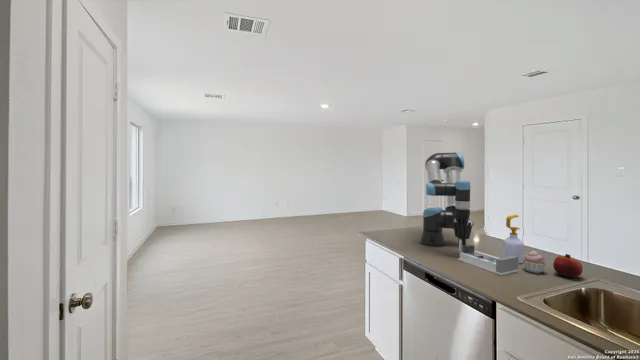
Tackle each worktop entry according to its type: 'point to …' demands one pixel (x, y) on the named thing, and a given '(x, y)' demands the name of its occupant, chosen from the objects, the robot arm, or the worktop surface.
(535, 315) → the worktop surface
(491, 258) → the block with dark end
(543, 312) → the worktop surface
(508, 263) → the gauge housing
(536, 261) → the cupcake
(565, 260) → the fruit
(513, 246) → the soap bottle
